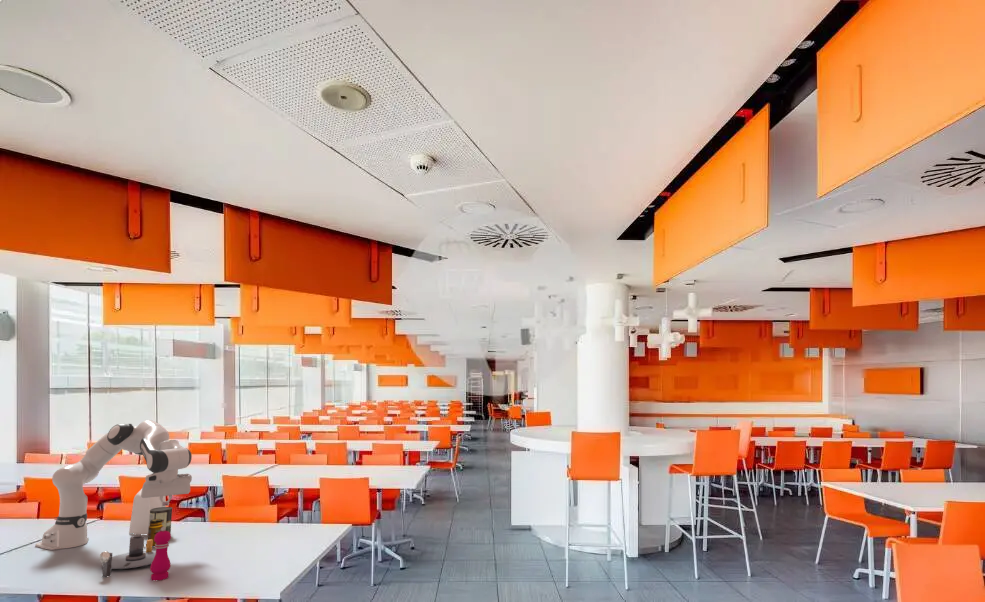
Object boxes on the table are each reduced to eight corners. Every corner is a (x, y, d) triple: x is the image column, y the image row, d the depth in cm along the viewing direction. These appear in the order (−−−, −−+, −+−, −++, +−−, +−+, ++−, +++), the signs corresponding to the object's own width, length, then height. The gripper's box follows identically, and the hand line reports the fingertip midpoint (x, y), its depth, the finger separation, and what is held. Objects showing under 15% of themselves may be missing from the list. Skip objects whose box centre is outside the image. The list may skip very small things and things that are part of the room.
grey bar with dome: (97, 577, 235) (100, 551, 236) (104, 575, 238) (106, 549, 239) (106, 578, 234) (108, 552, 235) (112, 576, 237) (115, 550, 238)
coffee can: (163, 533, 304) (165, 505, 305) (174, 536, 298) (176, 508, 300) (143, 538, 295) (145, 509, 297) (154, 541, 289) (156, 511, 291)
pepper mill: (164, 574, 239) (168, 524, 242) (173, 577, 235) (176, 526, 238) (145, 579, 233) (149, 527, 236) (154, 582, 229) (158, 530, 232)
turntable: (87, 566, 246) (89, 552, 246) (136, 550, 268) (137, 537, 269) (132, 571, 239) (133, 556, 240) (178, 554, 262) (179, 541, 263)
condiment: (162, 545, 281) (164, 520, 283) (142, 548, 276) (144, 522, 278) (161, 542, 287) (163, 517, 289) (141, 545, 282) (143, 519, 284)
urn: (121, 560, 251) (123, 536, 253) (136, 555, 258) (138, 532, 260) (134, 561, 249) (136, 537, 250) (149, 556, 256) (151, 533, 258)
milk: (128, 534, 303) (133, 483, 307) (146, 528, 314) (150, 479, 318) (147, 535, 300) (151, 483, 304) (165, 529, 311) (168, 480, 315)
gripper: (191, 472, 280) (190, 501, 278) (142, 476, 269) (140, 507, 267) (192, 474, 274) (190, 504, 272) (142, 478, 264) (140, 509, 262)
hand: (165, 505), depth 270 cm, fingers closed
